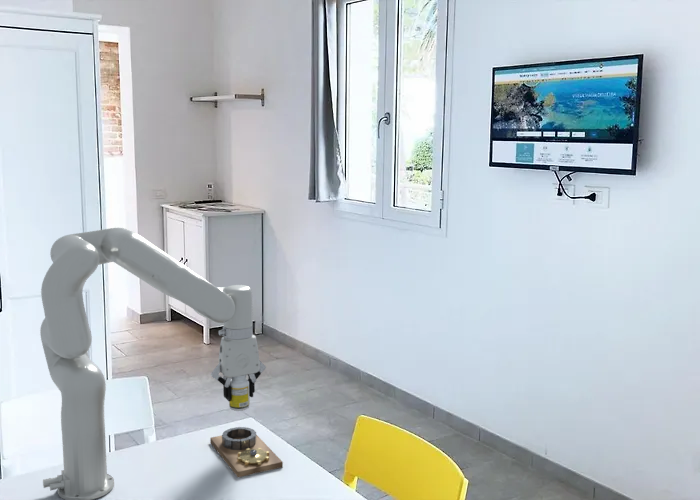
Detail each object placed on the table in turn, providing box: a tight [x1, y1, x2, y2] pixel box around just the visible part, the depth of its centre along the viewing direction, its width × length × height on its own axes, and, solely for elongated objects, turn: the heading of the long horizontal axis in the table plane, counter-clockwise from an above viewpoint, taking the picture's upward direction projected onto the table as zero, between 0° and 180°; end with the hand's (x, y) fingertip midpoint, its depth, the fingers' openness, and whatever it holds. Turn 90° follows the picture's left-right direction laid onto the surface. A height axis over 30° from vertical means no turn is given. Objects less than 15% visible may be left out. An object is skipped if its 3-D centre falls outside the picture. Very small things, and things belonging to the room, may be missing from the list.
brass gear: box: [237, 448, 269, 466], centre depth 182 cm, size 8×8×2 cm
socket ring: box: [221, 426, 257, 450], centre depth 191 cm, size 9×9×2 cm
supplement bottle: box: [228, 375, 251, 412], centre depth 189 cm, size 5×5×10 cm
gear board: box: [210, 434, 284, 478], centre depth 188 cm, size 12×22×2 cm, turn 29°
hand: (239, 396), depth 190 cm, fingers closed on supplement bottle, 5 cm apart
